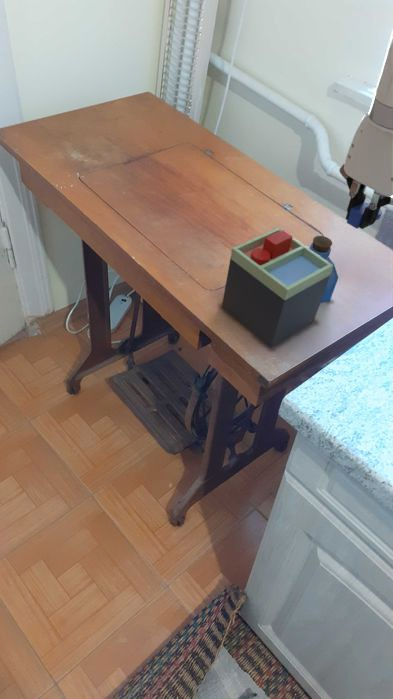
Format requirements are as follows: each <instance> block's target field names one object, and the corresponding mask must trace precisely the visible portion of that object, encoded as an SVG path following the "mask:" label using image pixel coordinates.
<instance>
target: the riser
mask: <svg viewBox="0 0 393 699" xmlns="http://www.w3.org/2000/svg"><path fill="white" fill-rule="evenodd" d="M329 277H330V276H328V277H326V278H324V279H323V280H321V281H319V282H317V283H315V284H313V285H312V286H310V287H308V288H306V289H304V290H303V291H301V292H299V293H297V294H295V295H294V296H292V297H290V298H288V299H286V300H284V299H282V298H281V297H280V296H278V295H277V294H276V293H274V292H273V291H272V290H271V289H269V288H268V287H267V286H265V285H264V284H263V283H262V282H260V281H259V280H258V279H256V278H255V277H254V276H252V275H251V274H250V273H249V272H247V271H246V270H245V269H243V268H242V267H241V266H240V265H238V264H237V263H236V262H234V261H233V260H232V259H231V258H229V264H228V269H227V276H226V280H225V287H224V292H223V298H222V304H221V307H222V309H224V310H225V311H227V312H228V313H229V314H230V315H231V316H233V317H234V318H235V319H236V320H237V321H238V322H240V323H241V324H242V325H243V326H244V327H245V328H247V329H248V330H249V331H250V332H251V333H253V334H254V335H255V337H257V338H259V340H260V341H262V342H263V343H264V344H266V345H267V346H268V347H269V349H270V348H271V349H272V348H274V347H275V346H277V345H278V344H281V343H282V342H283V341H285V340H287V339H288V338H290V337H292V336H293V335H295V334H296V333H298V332H300V331H301V330H303V329H305V328H306V327H308V326H310V325H311V324H313V323H314V322H315V319H316V316H317V313H318V311H319V308H320V305H321V303H320V302H321V299H322V297H323V294H324V291H325V288H326V285H327V283H328V280H329Z"/></svg>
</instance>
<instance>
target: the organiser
mask: <svg viewBox="0 0 393 699" xmlns="http://www.w3.org/2000/svg"><path fill="white" fill-rule="evenodd" d="M281 230H283V229H282V228H280V227H276V228H273V229H272V230H269V231H268V232H264V233H263V234H261V235H258V236H256V237H253V238H252V239H249V240H248V241H245V242H243V243H241V244H238V245H236V246H234V247H232V248H231V253H230V259H232V260H233V261H234V262H236V263H237V264H238V265H240V266H241V267H242V268H243V269H245V270H246V271H247V272H249V273H250V274H251V275H252V276H254V277H255V278H256V279H258V280H259V281H260V282H262V283H263V284H264V285H265V286H267V287H268V288H269V289H271V290H272V291H273V292H274V293H276V294H277V295H278V296H280V297H281V298H282V299H284V300H286V299H288V298H290V297H292V296H294V295H295V294H297V293H299V292H301V291H303V290H304V289H306V288H308V287H310V286H312V285H313V284H315V283H317V282H319V281H321V280H323V279H324V278H326V277H328V276H330V274H331V271H332V268H333V265H332V264H330V263H329V262H328V261H327V260H325V259H324V258H322V257H321V256H319V255H318V254H316V253H315V252H313V251H312V250H311V249H309V248H310V247H307V246H306V245H305V244H303V243H302V242H300V241H299V240H298V239H297V238H295V237H293V238H292V241H291V245H290V249H289V251H288V252H286V253H284V254H282V255H280V256H278V257H276V258H274V259H270V261H269V262H268V263H266V264H263V265H258V264H257V263H256V262H254V261H253V260H252V259H251V258H250V257H251V252H252V251H253V250H254V249H257V248H261V249H263V245H264V241H265V238H266V237H268V236H270V235H273V234H275V233H277V232H279V231H281Z"/></svg>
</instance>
